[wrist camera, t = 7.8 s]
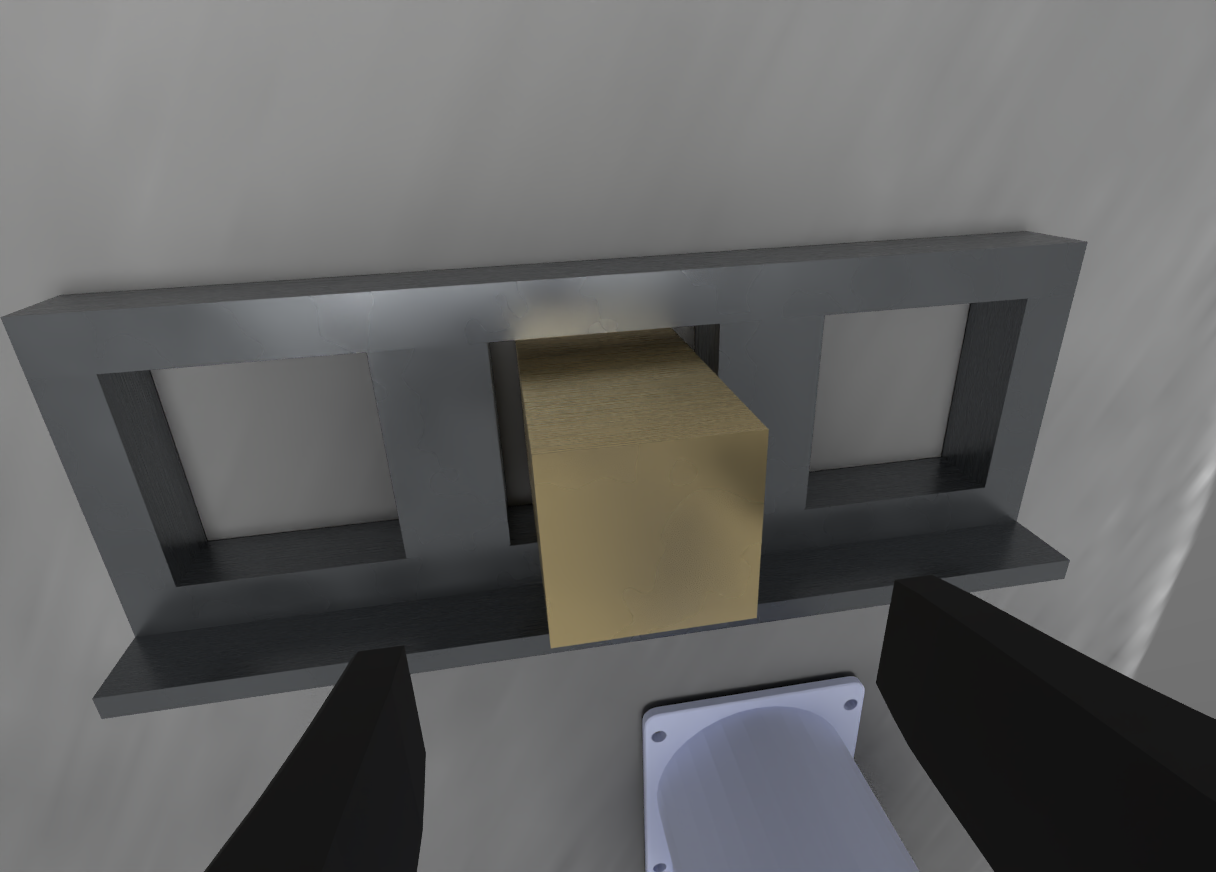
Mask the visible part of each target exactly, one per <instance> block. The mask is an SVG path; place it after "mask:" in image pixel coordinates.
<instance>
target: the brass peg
mask: <svg viewBox="0 0 1216 872" xmlns="http://www.w3.org/2000/svg"><path fill="white" fill-rule="evenodd" d="M515 343H516V352H517V362H518V372H519V381H520V391H521V401H522V411H523V420H524V430H525V440H526V449H527V459H528V469H529V478H530V486H531V494H532V502H533V510H534V518H535V526H536V534H537V542H538V550H539V558H540V566H541V574H542V582H543V590H544V598H545V606H546V614H547V622H548V630H549V638H550V646H551V648H557V647H564V646H570V645H577V644H584V643H591V642H597V641H604V640H611V639H618V638H624V637H631V636H638V635H645V634H651V633H658V632H665V631H672V630H678V629H685V628H692V627H699V626H705V625H712V624H719V623H726V622H732V621H739V620H746V619H753V618H757V605H758V589H759V574H760V558H761V543H762V527H763V512H764V496H765V481H766V465H767V450H768V434H769V429H768V428H767V427H766V426H765V425H764V424H763V423H762V422H761V421H760V420H759V419H758V418H757V417H756V416H755V415H754V414H753V413H752V412H751V411H750V410H749V408H748V407H747V406H746V405H745V404H744V403H743V402H742V401H741V400H740V399H739V398H738V397H737V396H736V395H735V394H734V393H733V392H732V391H731V390H730V389H729V388H728V387H727V386H726V385H725V383H724V382H723V381H722V380H721V379H720V378H719V377H718V376H717V375H716V374H715V373H714V372H713V371H712V370H711V369H710V368H709V367H708V366H707V365H706V364H705V363H704V362H703V361H702V360H701V358H700V357H699V356H698V355H697V354H696V353H695V352H694V351H693V350H692V349H691V348H690V347H689V346H688V345H687V344H686V343H685V342H684V341H683V340H682V339H681V338H680V337H679V336H678V335H677V333H676V332H675V331H674V330H673V329H672V328H659V329H647V330H634V331H622V332H610V333H597V334H585V335H573V336H561V337H548V338H536V339H524V340H515Z"/></svg>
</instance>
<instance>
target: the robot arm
mask: <svg viewBox="0 0 1216 872" xmlns="http://www.w3.org/2000/svg"><path fill="white" fill-rule="evenodd" d="M876 684H877V686H878V688H879V690H880V692H881V694H882V696H883V698H884V700H885V702H886V704H887V706H888V708H889V710H890V712H891V714H892V716H893V718H894V720H895V722H896V724H897V725H898V727H899V729H900V731H901V733H902V735H903V736H904V738H905V740H906V742H907V744H908V746H909V747H910V749H911V750H912V752H913V753H914V755H915V757H916V758H917V760H918V761H919V763H920V764H921V766H922V767H923V768H924V770H925V771H926V773H927V774H928V776H929V777H930V779H931V780H932V782H933V783H934V785H935V786H936V788H937V789H938V791H939V792H940V794H941V795H942V796H943V798H944V799H945V801H946V802H947V804H948V805H949V807H950V808H951V810H952V811H953V812H954V814H955V815H956V817H957V818H958V820H959V821H960V823H961V824H962V825H963V827H964V828H965V830H966V831H967V833H968V834H969V836H970V837H971V838H972V840H973V841H974V843H975V844H976V846H977V847H978V849H979V850H980V852H981V853H982V854H983V856H984V857H985V859H986V860H987V862H988V863H989V865H990V866H991V867H992V869H993V870H994V872H1216V719H1214V718H1211V717H1209V716H1207V715H1205V714H1203V713H1201V712H1199V711H1196V710H1194V709H1192V708H1190V707H1188V706H1186V705H1184V704H1182V703H1180V702H1178V701H1176V700H1173V699H1172V698H1170V697H1167V696H1165V695H1163V694H1161V693H1159V692H1157V691H1155V690H1153V689H1151V688H1149V687H1147V686H1145V685H1143V684H1141V683H1139V682H1137V681H1135V680H1133V679H1131V678H1129V677H1127V676H1125V675H1123V674H1121V673H1119V672H1117V671H1115V670H1113V669H1111V668H1109V667H1107V666H1105V665H1103V664H1101V663H1099V662H1098V661H1096V660H1094V659H1092V658H1090V657H1088V656H1086V655H1084V654H1082V653H1080V652H1078V651H1077V650H1075V649H1073V648H1071V647H1069V646H1067V645H1065V644H1063V643H1061V642H1060V641H1058V640H1056V639H1054V638H1052V637H1050V636H1048V635H1047V634H1045V633H1043V632H1041V631H1039V630H1037V629H1035V628H1034V627H1032V626H1030V625H1028V624H1026V623H1024V622H1022V621H1021V620H1019V619H1017V618H1015V617H1013V616H1011V615H1009V614H1008V613H1006V612H1004V611H1002V610H1000V609H998V608H997V607H995V606H993V605H991V604H989V603H987V602H985V601H983V600H982V599H980V598H978V597H976V596H974V595H972V594H970V593H968V592H966V591H964V590H962V589H960V588H959V587H957V586H955V585H952V584H950V583H948V582H946V581H944V580H942V579H940V578H938V577H936V576H933V575H927V576H919V577H912V578H904V579H897V580H895V581H894V586H893V592H892V597H891V603H890V608H889V614H888V619H887V625H886V630H885V636H884V641H883V647H882V652H881V658H880V663H879V669H878V674H877V680H876ZM864 693H865V688H864V686H863V684H862V683H861V682H860V680H859V679H858V678H857V677H854V676H848V677H841V678H835V679H829V680H823V681H816V682H810V683H804V684H798V685H791V686H785V687H779V688H773V689H766V690H760V691H754V692H748V693H742V694H735V695H729V696H723V697H717V698H710V699H704V700H698V701H692V702H685V703H679V704H673V705H667V706H660V707H655V708H652V709H650V710H649V711H647V712H646V713H645V714H644V716H643V719H642V730H643V779H644V828H645V872H920V871H919V869H918V868H917V866H916V864H915V862H914V861H913V859H912V857H911V856H910V854H909V852H908V851H907V849H906V847H905V846H904V844H903V842H902V840H901V839H900V837H899V835H898V834H897V832H896V830H895V829H894V827H893V825H892V824H891V822H890V820H889V818H888V817H887V815H886V813H885V812H884V810H883V808H882V807H881V805H880V803H879V802H878V800H877V798H876V796H875V795H874V793H873V791H872V790H871V788H870V786H869V785H868V783H867V781H866V780H865V778H864V776H863V774H862V773H861V771H860V769H859V768H858V766H857V764H856V763H855V761H854V753H855V747H856V741H857V735H858V729H859V723H860V717H861V711H862V705H863V699H864ZM658 731H660V732H658ZM655 732H658V733H655ZM425 759H426V752H425V747H424V742H423V737H422V732H421V727H420V722H419V717H418V712H417V707H416V702H415V697H414V692H413V687H412V682H411V677H410V672H409V667H408V661H407V656H406V651H405V646H404V645H403V646H396V647H389V648H381V649H374V650H366V651H359V652H357V653H356V654H355V655H354V657H353V658H352V659H351V660H350V662H349V663H348V665H347V667H346V668H345V670H344V671H343V673H342V675H341V676H340V678H339V680H338V681H337V683H336V684H335V686H334V688H333V689H332V691H331V692H330V694H329V696H328V697H327V699H326V700H325V702H324V704H323V705H322V707H321V708H320V710H319V711H318V713H317V714H316V716H315V717H314V719H313V721H312V722H311V724H310V725H309V727H308V728H307V730H306V731H305V733H304V734H303V736H302V737H301V739H300V740H299V742H298V743H297V745H296V746H295V748H294V749H293V751H292V752H291V753H290V755H289V756H288V758H287V759H286V761H285V762H284V764H283V765H282V766H281V768H280V769H279V771H278V772H277V774H276V775H275V777H274V778H273V779H272V781H271V782H270V784H269V785H268V787H267V788H266V790H265V791H264V792H263V794H262V795H261V797H260V798H259V799H258V801H257V802H256V804H255V805H254V806H253V808H252V809H251V810H250V812H249V813H248V814H247V816H246V817H245V818H244V820H243V821H242V822H241V824H240V825H239V826H238V828H237V829H236V830H235V831H234V833H233V834H232V835H231V837H230V838H229V839H228V841H227V842H226V843H225V845H224V846H223V847H222V849H221V850H220V851H219V853H218V854H217V855H216V857H215V858H214V859H213V860H212V862H211V863H210V864H209V866H208V867H207V868H206V870H205V871H204V872H417V866H418V859H419V852H420V845H421V838H422V831H423V810H424V788H425Z"/></svg>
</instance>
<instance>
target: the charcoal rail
mask: <svg viewBox="0 0 1216 872" xmlns="http://www.w3.org/2000/svg"><path fill="white" fill-rule="evenodd" d="M1086 246H1087V242H1086V241H1080V240H1075V239H1069V238H1063V237H1057V236H1052V235H1046V234H1040V233H1035V232H1029V231H1025V232H1010V233H995V234H980V235H965V236H950V237H934V238H919V239H904V240H889V241H874V242H859V243H844V244H829V245H814V246H799V247H783V248H768V249H753V250H738V251H723V252H708V253H693V254H678V255H663V256H648V257H632V258H617V259H602V260H587V261H572V262H557V263H542V264H527V265H512V266H497V267H482V268H466V269H451V270H436V271H421V272H406V273H391V274H376V275H361V276H346V277H331V278H315V279H300V280H285V281H270V282H255V283H240V284H225V285H210V286H195V287H180V288H164V289H149V290H134V291H119V292H104V293H89V294H74V295H59V296H57V297H54V298H51V299H48V300H46V301H43V302H40V303H38V304H35V305H32V306H30V307H27V308H24V309H22V310H19V311H16V312H14V313H11V314H8V315H6V316H3V317H1V319H2V322H3V324H4V326H5V329H6V331H7V334H8V336H9V338H10V341H11V343H12V345H13V348H14V350H15V353H16V355H17V357H18V360H19V362H20V364H21V367H22V369H23V372H24V374H25V376H26V379H27V381H28V383H29V386H30V388H31V391H32V393H33V395H34V398H35V400H36V402H37V405H38V407H39V410H40V412H41V414H42V417H43V419H44V421H45V424H46V426H47V429H48V431H49V433H50V436H51V438H52V440H53V443H54V445H55V447H56V450H57V452H58V455H59V457H60V459H61V462H62V464H63V466H64V469H65V471H66V474H67V476H68V478H69V481H70V483H71V485H72V488H73V490H74V493H75V495H76V497H77V500H78V502H79V504H80V507H81V509H82V512H83V514H84V516H85V519H86V521H87V523H88V526H89V528H90V531H91V533H92V535H93V538H94V540H95V542H96V545H97V547H98V550H99V552H100V554H101V557H102V559H103V561H104V564H105V566H106V568H107V571H108V573H109V576H110V578H111V580H112V583H113V585H114V587H115V590H116V592H117V595H118V597H119V599H120V602H121V604H122V606H123V609H124V611H125V614H126V616H127V618H128V621H129V623H130V625H131V628H132V630H133V633H134V635H135V638H134V640H133V641H132V643H131V644H130V646H129V647H128V648H127V650H126V651H125V653H124V654H123V656H122V657H121V658H120V660H119V661H118V663H117V664H116V666H115V667H114V668H113V670H112V671H111V673H110V674H109V676H108V677H107V679H106V680H105V681H104V683H103V684H102V686H101V687H100V689H99V690H98V691H97V693H96V694H95V696H94V697H93V701H94V703H95V706H96V708H97V710H98V712H99V714H100V716H101V718H102V719H105V718H112V717H119V716H125V715H132V714H139V713H146V712H153V711H160V710H167V709H173V708H180V707H187V706H194V705H201V704H208V703H215V702H221V701H228V700H235V699H242V698H249V697H256V696H263V695H269V694H276V693H283V692H290V691H297V690H304V689H311V688H317V687H324V686H331V685H335V684H336V683H337V681H338V680H339V678H340V676H341V675H342V673H343V671H344V670H345V668H346V667H347V665H348V663H349V662H350V660H351V659H352V658H353V657H354V655H355V654H356V653H357V652H359V651H366V650H374V649H381V648H389V647H396V646H403V645H404V646H405V651H406V656H407V661H408V667H409V672H410V674H413V673H420V672H427V671H434V670H441V669H448V668H455V667H461V666H468V665H475V664H482V663H489V662H496V661H503V660H509V659H516V658H523V657H530V656H537V655H544V654H551V653H557V652H564V651H571V650H578V649H585V648H592V647H599V646H605V645H612V644H619V643H626V642H633V641H640V640H647V639H653V638H660V637H667V636H674V635H681V634H688V633H695V632H701V631H708V630H715V629H722V628H729V627H736V626H743V625H749V624H756V623H763V622H770V621H777V620H784V619H791V618H797V617H804V616H811V615H818V614H825V613H832V612H839V611H845V610H852V609H859V608H866V607H873V606H880V605H887V604H890V603H891V597H892V592H893V586H894V581H895V580H897V579H904V578H912V577H919V576H927V575H933V576H936V577H938V578H940V579H942V580H944V581H946V582H948V583H950V584H952V585H955V586H957V587H959V588H960V589H962V590H964V591H966V592H968V593H969V592H976V591H983V590H989V589H996V588H1003V587H1010V586H1017V585H1024V584H1031V583H1037V582H1044V581H1051V580H1058V579H1064V578H1065V575H1066V571H1067V568H1068V565H1069V561H1070V560H1069V559H1068V558H1066V557H1065V556H1063V555H1062V554H1061V553H1059V552H1058V551H1057V550H1055V549H1054V548H1052V547H1051V546H1050V545H1048V544H1047V543H1045V542H1044V541H1043V540H1041V539H1040V538H1039V537H1037V536H1036V535H1034V534H1033V533H1032V532H1030V531H1029V530H1028V529H1026V528H1025V527H1023V526H1022V525H1021V524H1019V523H1018V522H1017V517H1018V513H1019V509H1020V505H1021V501H1022V497H1023V493H1024V489H1025V486H1026V482H1027V478H1028V474H1029V470H1030V466H1031V462H1032V458H1033V454H1034V450H1035V446H1036V442H1037V438H1038V434H1039V430H1040V427H1041V423H1042V419H1043V415H1044V411H1045V407H1046V403H1047V399H1048V395H1049V391H1050V387H1051V383H1052V379H1053V375H1054V372H1055V368H1056V364H1057V360H1058V356H1059V352H1060V348H1061V344H1062V340H1063V336H1064V332H1065V328H1066V324H1067V320H1068V317H1069V313H1070V309H1071V305H1072V301H1073V297H1074V293H1075V289H1076V285H1077V281H1078V277H1079V273H1080V269H1081V265H1082V262H1083V258H1084V254H1085V250H1086ZM966 303H971V306H970V312H969V317H968V322H967V327H966V333H965V338H964V343H963V348H962V353H961V359H960V364H959V369H958V374H957V380H956V385H955V390H954V395H953V401H952V406H951V411H950V416H949V421H948V427H947V432H946V437H945V442H944V448H943V453H942V457H939V458H930V459H921V460H913V461H904V462H895V463H886V464H878V465H869V466H860V467H852V468H843V469H834V470H826V471H817V472H809V467H810V457H811V447H812V437H813V427H814V417H815V407H816V397H817V387H818V377H819V367H820V357H821V347H822V337H823V327H824V317H825V315H831V314H843V313H855V312H868V311H880V310H892V309H905V308H917V307H929V306H941V305H954V304H966ZM683 326H695V353H696V354H697V355H698V356H699V357H700V358H701V360H702V361H703V362H704V363H705V364H706V365H707V366H708V367H709V368H710V369H711V370H712V371H713V372H714V373H715V374H716V375H717V376H718V377H719V378H720V379H721V380H722V381H723V382H724V383H725V385H726V386H727V387H728V388H729V389H730V390H731V391H732V392H733V393H734V394H735V395H736V396H737V397H738V398H739V399H740V400H741V401H742V402H743V403H744V404H745V405H746V406H747V407H748V408H749V410H750V411H751V412H752V413H753V414H754V415H755V416H756V417H757V418H758V419H759V420H760V421H761V422H762V423H763V424H764V425H765V426H766V427H767V428H768V429H769V434H768V450H767V465H766V481H765V496H764V512H763V527H762V543H761V558H760V574H759V589H758V605H757V618H753V619H746V620H739V621H732V622H726V623H719V624H712V625H705V626H699V627H692V628H685V629H678V630H672V631H665V632H658V633H651V634H645V635H638V636H631V637H624V638H618V639H611V640H604V641H597V642H591V643H584V644H577V645H570V646H564V647H557V648H551V646H550V638H549V630H548V622H547V614H546V606H545V598H544V590H543V582H542V574H541V566H540V558H539V550H538V542H537V534H536V526H535V518H534V510H533V504H530V505H521V506H513V507H508V501H507V492H506V484H505V475H504V466H503V457H502V448H501V440H500V431H499V422H498V413H497V404H496V396H495V387H494V378H493V369H492V361H491V352H490V343H489V342H499V341H511V340H524V339H536V338H548V337H561V336H573V335H585V334H597V333H610V332H622V331H634V330H647V329H659V328H671V327H683ZM364 352H367V357H368V363H369V368H370V373H371V378H372V383H373V388H374V393H375V399H376V404H377V409H378V414H379V419H380V424H381V430H382V435H383V440H384V445H385V450H386V455H387V460H388V466H389V471H390V476H391V481H392V486H393V491H394V496H395V502H396V507H397V512H398V517H399V520H391V521H382V522H373V523H365V524H356V525H347V526H339V527H330V528H321V529H313V530H304V531H295V532H286V533H278V534H269V535H260V536H252V537H243V538H234V539H226V540H217V541H208V542H207V539H206V536H205V533H204V530H203V528H202V525H201V522H200V519H199V516H198V513H197V510H196V507H195V504H194V501H193V498H192V495H191V492H190V489H189V486H188V483H187V480H186V477H185V474H184V471H183V468H182V466H181V463H180V460H179V457H178V454H177V451H176V448H175V445H174V442H173V439H172V436H171V433H170V430H169V427H168V424H167V421H166V418H165V415H164V412H163V409H162V406H161V404H160V401H159V398H158V395H157V392H156V389H155V386H154V383H153V380H152V377H151V374H150V371H149V370H155V369H167V368H180V367H192V366H204V365H217V364H229V363H241V362H253V361H266V360H278V359H290V358H303V357H315V356H327V355H339V354H352V353H364Z"/></svg>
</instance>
